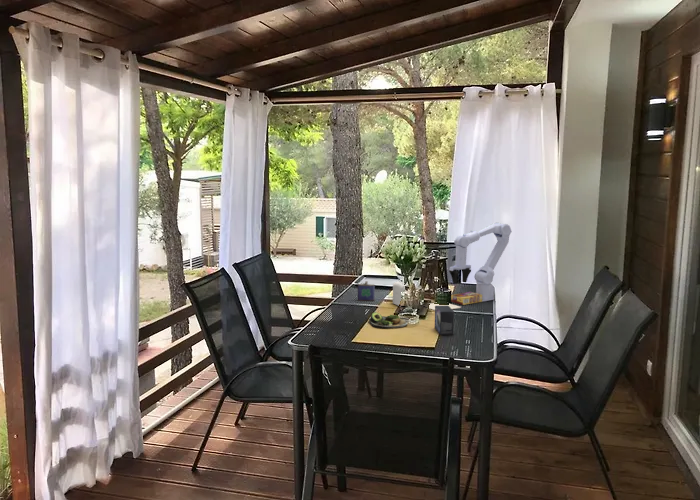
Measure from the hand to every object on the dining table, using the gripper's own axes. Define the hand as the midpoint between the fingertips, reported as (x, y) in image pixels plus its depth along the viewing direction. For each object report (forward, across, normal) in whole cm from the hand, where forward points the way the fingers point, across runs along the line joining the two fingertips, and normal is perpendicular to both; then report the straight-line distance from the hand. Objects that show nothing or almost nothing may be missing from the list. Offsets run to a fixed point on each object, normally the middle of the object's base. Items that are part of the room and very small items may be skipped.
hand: (459, 282), depth 294 cm
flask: (+11, +42, -28) cm, 52 cm away
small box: (+11, +48, +37) cm, 61 cm away
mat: (+10, +18, +4) cm, 21 cm away
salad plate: (+12, +62, +14) cm, 64 cm away
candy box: (+8, +5, +4) cm, 11 cm away
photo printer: (+11, +33, -10) cm, 37 cm away
